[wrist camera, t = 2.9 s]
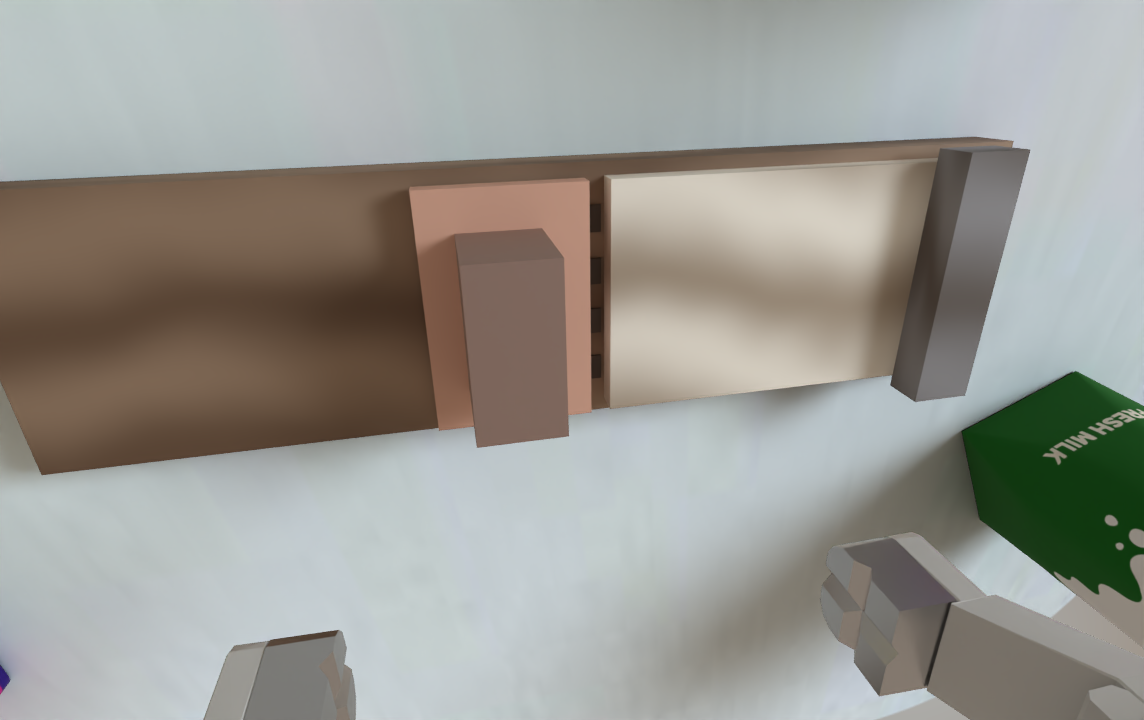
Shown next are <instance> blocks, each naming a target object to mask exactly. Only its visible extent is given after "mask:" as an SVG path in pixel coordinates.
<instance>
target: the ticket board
mask: <svg viewBox="0 0 1144 720" xmlns="http://www.w3.org/2000/svg"><path fill="white" fill-rule="evenodd" d="M1012 145H1013V141H1008V140H999V139H990V138H981V137H961V138H940V139H918V140H896V141H875V142H853V143H831V144H810V145H788V146H766V147H745V148H723V149H701V150H680V151H658V152H636V153H615V154H593V155H571V156H550V157H528V158H506V159H485V160H463V161H441V162H419V163H398V164H376V165H354V166H333V167H311V168H289V169H268V170H246V171H224V172H203V173H181V174H159V175H138V176H116V177H94V178H73V179H51V180H29V181H8V182H0V381H1V384H2V386H3V388H4V390H5V393H6V395H7V397H8V399H9V402H10V404H11V406H12V409H13V411H14V413H15V415H16V418H17V420H18V422H19V424H20V427H21V429H22V431H23V434H24V436H25V438H26V440H27V443H28V445H29V447H30V450H31V452H32V454H33V456H34V459H35V461H36V463H37V465H38V468H39V470H40V472H41V475H47V474H55V473H63V472H72V471H80V470H89V469H97V468H105V467H114V466H122V465H131V464H139V463H147V462H156V461H164V460H172V459H181V458H189V457H198V456H206V455H214V454H223V453H231V452H240V451H248V450H256V449H265V448H273V447H282V446H290V445H298V444H307V443H315V442H324V441H332V440H340V439H349V438H357V437H365V436H374V435H382V434H391V433H399V432H407V431H416V430H424V429H433V428H439V427H438V419H437V411H436V403H435V395H434V386H433V378H432V370H431V362H430V354H429V346H428V338H427V330H426V322H425V314H424V306H423V298H422V290H421V282H420V274H419V266H418V258H417V250H416V242H415V234H414V226H413V218H412V210H411V202H410V194H409V189H410V187H417V186H436V185H455V184H474V183H493V182H512V181H531V180H550V179H569V178H586V179H587V180H589V190H590V303H591V410H592V409H600V408H610V409H613V408H621V407H630V406H638V405H646V404H655V403H663V402H671V401H680V400H688V399H696V398H705V397H713V396H721V395H730V394H738V393H747V392H755V391H763V390H772V389H780V388H788V387H797V386H805V385H813V384H822V383H830V382H839V381H847V380H855V379H864V378H872V377H880V376H889V375H892V380H891V384H890V385H891V386H892V387H894V388H895V389H897V390H898V391H900V392H901V393H903V394H904V395H906V396H907V397H909V398H910V399H912V400H913V401H915V402H918V401H926V400H934V399H941V398H949V397H957V396H965V393H966V390H967V386H968V382H969V378H970V374H971V371H972V367H973V363H974V359H975V356H976V352H977V348H978V344H979V341H980V337H981V333H982V329H983V326H984V322H985V318H986V314H987V311H988V307H989V303H990V299H991V296H992V292H993V288H994V284H995V281H996V277H997V273H998V269H999V266H1000V262H1001V258H1002V254H1003V251H1004V247H1005V243H1006V239H1007V236H1008V232H1009V228H1010V224H1011V221H1012V217H1013V213H1014V209H1015V206H1016V202H1017V198H1018V194H1019V191H1020V187H1021V183H1022V179H1023V176H1024V172H1025V168H1026V164H1027V161H1028V157H1029V153H1030V150H1028V149H1020V148H1012Z"/></svg>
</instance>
